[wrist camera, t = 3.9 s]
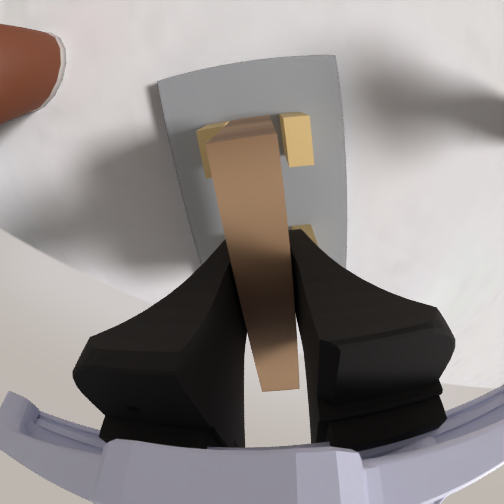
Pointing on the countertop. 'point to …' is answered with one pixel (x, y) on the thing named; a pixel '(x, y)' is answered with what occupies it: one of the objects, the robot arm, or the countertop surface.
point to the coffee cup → (28, 70)
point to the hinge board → (288, 132)
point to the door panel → (258, 243)
